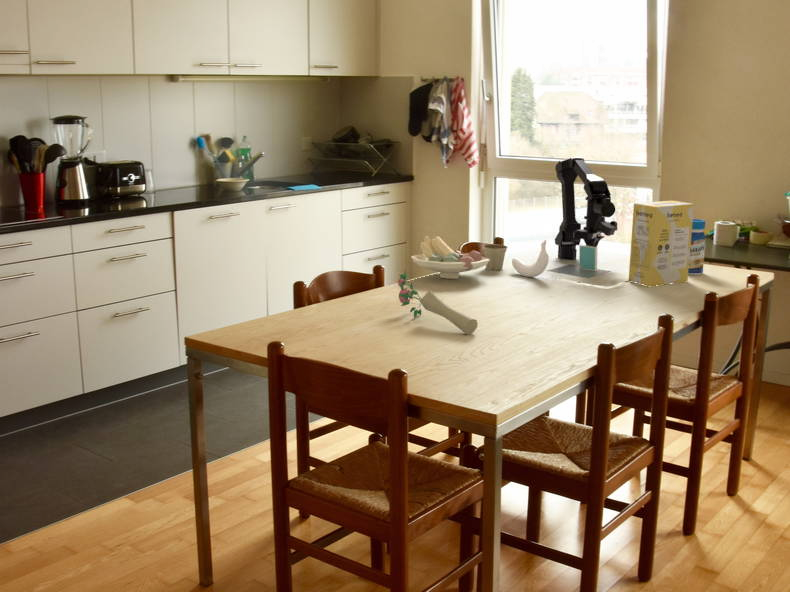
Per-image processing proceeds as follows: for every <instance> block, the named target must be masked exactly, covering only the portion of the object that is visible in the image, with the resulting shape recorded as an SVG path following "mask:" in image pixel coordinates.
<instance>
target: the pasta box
mask: <svg viewBox="0 0 790 592" xmlns="http://www.w3.org/2000/svg"><path fill="white" fill-rule="evenodd" d="M694 208H695V203H692V202H684V201H678V200H671V199H670V200H661V201H649V202H647V201H646V202H635V203H633V213H632V225H631V226H632V228H631V240H630V241H631V243H630V256H629V268H628V269H629V270H628V282H629V281H633V282H637V283H640V284H644V285H647V286H646V287H648V286H655V287H657V286H656V285H662V284H669V285H671V284H670V283H676V284H678V283H677V282H683V283H686V282H685V281H687V282H688V279H689V275H688V269H689V258H690V246H691V234H692V223H693V219H694ZM633 282H632V283H633ZM637 283H636V284H637ZM640 284H639V285H640ZM644 285H643V286H644ZM662 286H663V285H662Z"/></svg>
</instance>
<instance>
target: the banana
mask: <svg viewBox="0 0 790 592" xmlns="http://www.w3.org/2000/svg"><path fill="white" fill-rule="evenodd" d="M546 244H547V239H545V240H544V241H542V243H541V244H540V246H541V249H540V252H539V254H538V257H537V260H536V261H535V262H534V263H533V264H526V263H525V262H524V261H522V260H521V259H519V258H518V257H513V258H512V260H511V263H512V266H513V267H512V268H514V270H515V271H516V272H517V273H518V274H519V275H521V276H523V277H526V278H527V277H528V278H535V277H539V276H540V275H542V274H543V273H544V272H545V271H546V270H547V267H548V265H549V261H550V260H549V254H548V252H547V250H546V246H547V245H546Z"/></svg>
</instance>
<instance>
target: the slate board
mask: <svg viewBox="0 0 790 592" xmlns="http://www.w3.org/2000/svg"><path fill="white" fill-rule="evenodd" d="M545 271H546V272H552V273H556V274H557V273H558V274H563V275H568V276H575V277H579V278H587V279H590V278H593V277H597V276H601V275H604V274H608V273H611V270H610V271H609V270H605V269H600V268H599V269H598V268H597V271H592V270H586V269H580V268H579V265H574V264H566V265H562V266H558V267H555V268H551V269H545Z"/></svg>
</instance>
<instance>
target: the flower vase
mask: <svg viewBox="0 0 790 592" xmlns="http://www.w3.org/2000/svg"><path fill="white" fill-rule="evenodd" d="M399 276H400V278H399V279H398V281H397V285H398V287H400V291H399V293H398V300H399V303H401V305H400V307H404V306H407V305H409V304H411V300H413V299H415V300H419V306H418V307H415V306H414V307H411V308H410V310H409V313H410V314H411V313H412V312H413V318H414V319H416V317H417V316H418V315H420V316H421V315H422V309H421V306H422V307H423V308H424V309H425V310H426V311H428V312H431V313H433V314H435V315H438V316H440V317H443V318H445V319H446V320H447V321H449V322H450V323H452V324H453V325H454V326H456V328H458V329H459V330H461V332H463V333H464V334H466V335H468V336H469V335H473V333H474V332H475V331H476V330H477V328H478V320H477V319H476V318H473V317H470V316H469V315H467V314H465V313H464V312H461V311H459V310H457V309H455V308H453V307H451V306H450V305H448V304H447V303H446V302H444V300H443V299H441V298H440V297H438V296H437V295H436V294H435V293H434V292H433V291H431V290H430V289H429V290H428V291H427V292H426V293H425V294H424V295H423V296H422V298H421V296H420V295H419V293H418V291H417V290H415V289H414V284H413V283H412V281H411V282H410V283H409V278H408V275H407V272H406V270H404V272H403V274H400V273H399ZM405 285H406V286H408V287H409V288H410V289H408V287H406V288H405V287H404V286H405ZM415 295H417V297H416V296H415ZM413 304H414V305H416V303H412V305H413ZM417 308H418V309H417Z"/></svg>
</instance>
